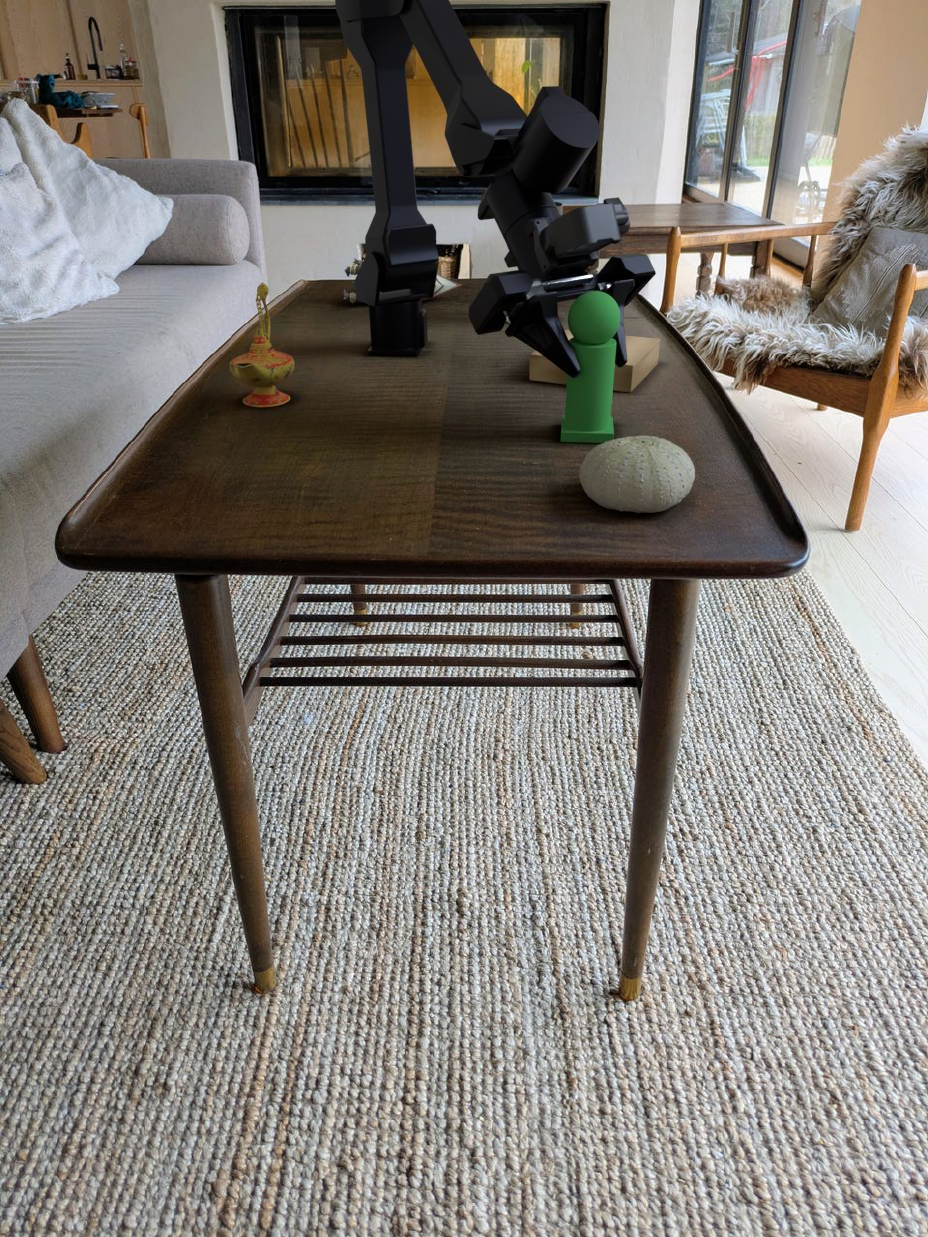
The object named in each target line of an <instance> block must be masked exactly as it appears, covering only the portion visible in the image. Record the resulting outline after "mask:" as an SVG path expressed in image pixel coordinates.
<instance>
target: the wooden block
mask: <svg viewBox="0 0 928 1237" xmlns="http://www.w3.org/2000/svg"><path fill="white" fill-rule="evenodd" d="M564 331H565V333H566V335H567V337H568V340H570V339H571V338H573V335H572V334H571V332H570V330H569V329H564ZM625 339H626V350H627V363H626V364H625V365H624V366H623V367H621V368H619V367H618V366H617V365H616V364H615V368H614V381H613V391H616V392H623V393H624V392H625V393H632V392H633V391H634V390H635V389H636V388H637V386H639V384H641V382H643V380H644V379H645V378H646V377H647V376H648V375H649V374H650V373H651V372H652V371H653V370H654V369H655V367H657V366H658V365H659V359H660V358H659V356H660V346H661V338H655V337H645V336H633V335H625ZM528 374H529V379H528V380H529V381H535V382H542V383H551V384H558V385H565V386H567V374H566V373H565V372H564V371H562V370H561V369H560V368H559V367H557V366H556V365H555V364H553V363H552V362H551V361H549V360H548V359H547V358H545V356H543V355H541V354H540V353H539V352H537V351H536V350H534V351H533V352H531V353H530V354H529V373H528Z"/></svg>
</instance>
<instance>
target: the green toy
mask: <svg viewBox="0 0 928 1237" xmlns="http://www.w3.org/2000/svg"><path fill="white" fill-rule="evenodd" d="M619 325H620V310H619V307H618V305H617V303H616V301H615V300H614V299H613V298H612V297H611V296H610V295H608V294H606V293H604V292H600V291H590V292H587V293H584V294H582V295H581V296H579V297H578V298H577V299H575V300H573V302H572V304H571V305H570V308H569V310H568V313H567V326H568V330H570V332H571V334H572V335H573V338H571V339H570V340H569V342H570V344H571V346H572V348H573V351H574V353H575V355H576V358H577V361H578V364H579V367H580V370H581V372H580V374H579V375H578V376H577V377H576V378H572V377H570V376H569V375H568V374H567V385H566V390H565V406H564V407H565V409H564V410H565V411H564V414H561V426H560V428H561V429H560V442H561V443H585V444H586V443H587V444H588V443H589V444H590V443H591V444H595V443H596V444H602V443H605V442H608V441H609V440H610V441H611V440H613V439H614V436H615V433H614V432H615V431H614V430H615V429H614V417H613V416H612V406H613V405H612V404H613V392H614V390H613V381H614V368H615V355H616V340H615V339H613V338H612V337H613V336H614V335H615V334H616V332H617V330H618V328H619Z"/></svg>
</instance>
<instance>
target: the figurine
mask: <svg viewBox="0 0 928 1237" xmlns="http://www.w3.org/2000/svg"><path fill="white" fill-rule="evenodd" d="M353 260H354V261H352V263H353V264H351V265H348V266H346V268H345V269H344V270H343V271H344V273H345V274H346V277H348V278H349V277H350V276H357V274H358V272H359V270H360V267H361V265H362V263H363V261H364V259H362V260H359V259H358V258H353ZM351 284H352V285H353V288H354V289H355V287H354V281H351ZM459 287H462V283H457V282H455V281H453V280H451V279H449V278H447V277H445V276H444V275H442V274H440V273H438V272H437V278H436V284H435V290H434V296H433V298H436V297H438V296H441V295H443V294H445V293H448V292H450V291H452V290H455V289H457V288H459ZM433 298H423V299H422V302H423V301H428V300H431V299H433ZM343 300H346V301H349V302H350V303H352V304H354V303H356V302H359V303H362V302H361V301H359V300H357V296H356V292H354V291H352V292H350V293H348V292H347V291H346V288H344V289H343Z"/></svg>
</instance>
